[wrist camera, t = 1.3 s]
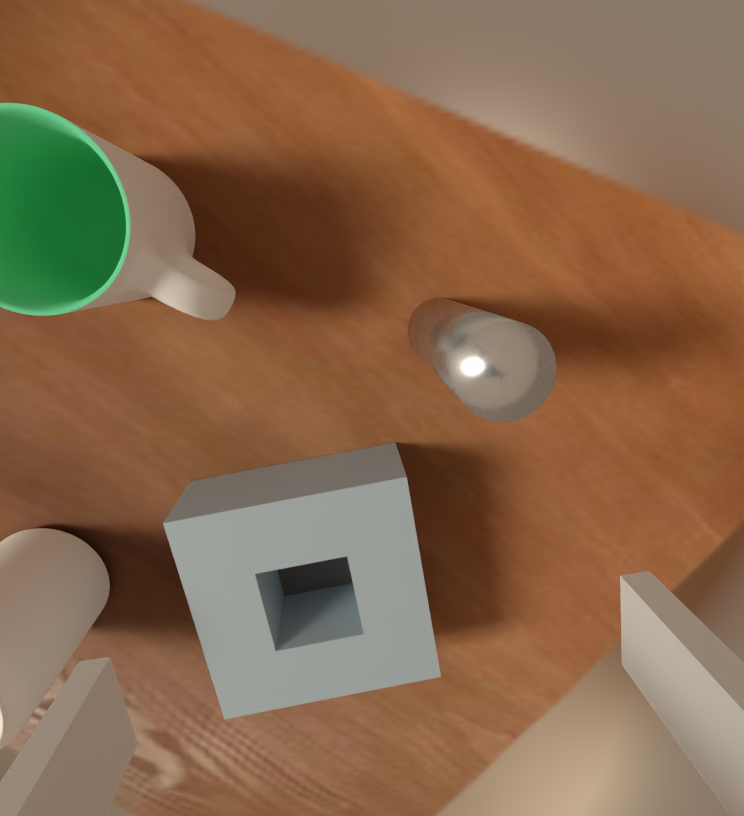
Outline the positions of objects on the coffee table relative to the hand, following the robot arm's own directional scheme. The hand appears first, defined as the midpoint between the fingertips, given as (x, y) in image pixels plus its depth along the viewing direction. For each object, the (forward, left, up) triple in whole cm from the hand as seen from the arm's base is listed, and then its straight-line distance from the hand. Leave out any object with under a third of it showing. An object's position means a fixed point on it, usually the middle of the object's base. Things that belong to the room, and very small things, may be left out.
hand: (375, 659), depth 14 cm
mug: (-13, -9, -23) cm, 28 cm away
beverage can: (+7, -22, -23) cm, 33 cm away
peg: (-5, +7, -23) cm, 24 cm away
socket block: (+9, -4, -23) cm, 25 cm away
